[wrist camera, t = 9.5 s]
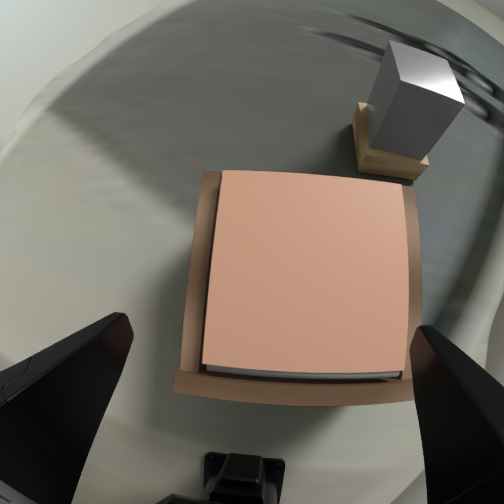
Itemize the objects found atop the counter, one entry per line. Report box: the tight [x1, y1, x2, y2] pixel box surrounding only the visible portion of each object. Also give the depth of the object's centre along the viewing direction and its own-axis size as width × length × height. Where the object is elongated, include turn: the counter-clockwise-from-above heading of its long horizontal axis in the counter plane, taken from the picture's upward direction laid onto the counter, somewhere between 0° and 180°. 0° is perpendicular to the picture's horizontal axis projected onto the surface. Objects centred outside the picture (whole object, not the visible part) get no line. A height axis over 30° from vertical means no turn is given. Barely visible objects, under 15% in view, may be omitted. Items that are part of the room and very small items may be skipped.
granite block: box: [366, 40, 465, 161], centre depth 17 cm, size 5×5×8 cm
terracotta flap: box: [202, 170, 409, 379], centre depth 14 cm, size 10×10×1 cm
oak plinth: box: [352, 102, 429, 180], centre depth 23 cm, size 6×6×3 cm
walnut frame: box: [173, 171, 422, 406], centre depth 18 cm, size 12×13×8 cm
